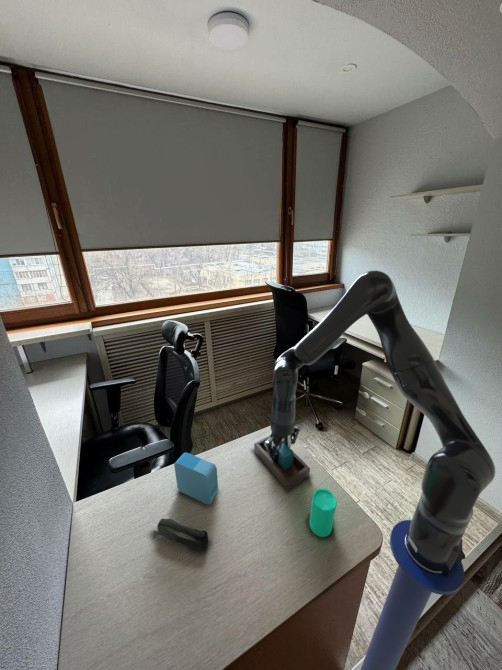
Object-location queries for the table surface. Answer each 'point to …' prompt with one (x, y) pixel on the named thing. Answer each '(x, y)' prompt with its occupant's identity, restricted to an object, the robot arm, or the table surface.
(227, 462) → the table surface
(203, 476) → the data package
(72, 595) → the table surface
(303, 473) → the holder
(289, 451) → the block
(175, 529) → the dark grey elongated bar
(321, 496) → the candle
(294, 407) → the robot arm
